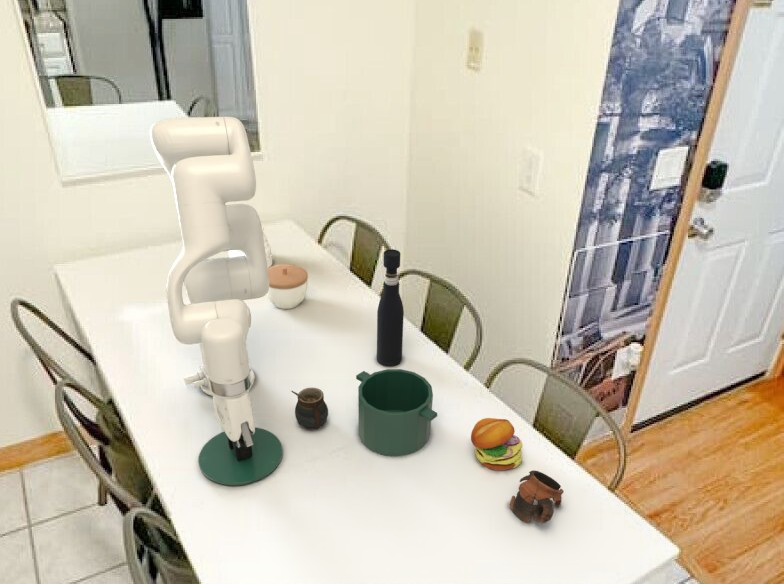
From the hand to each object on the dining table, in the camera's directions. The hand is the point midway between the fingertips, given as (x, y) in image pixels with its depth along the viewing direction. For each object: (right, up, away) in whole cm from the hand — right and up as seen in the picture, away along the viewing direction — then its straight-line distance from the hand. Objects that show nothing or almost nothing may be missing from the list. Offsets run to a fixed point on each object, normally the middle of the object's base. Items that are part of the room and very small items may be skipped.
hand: (240, 451), depth 131 cm
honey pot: (-18, +49, +72) cm, 89 cm away
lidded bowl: (-3, +35, +53) cm, 64 cm away
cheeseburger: (+53, -2, +6) cm, 53 cm away
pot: (+31, +3, +10) cm, 33 cm away
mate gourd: (+12, +5, +11) cm, 17 cm away
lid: (0, -1, +1) cm, 1 cm away
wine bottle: (+28, +19, +33) cm, 47 cm away
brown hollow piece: (+59, -11, -6) cm, 61 cm away
